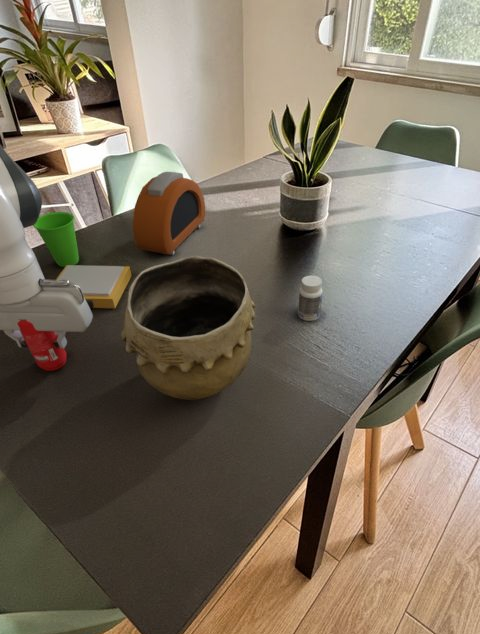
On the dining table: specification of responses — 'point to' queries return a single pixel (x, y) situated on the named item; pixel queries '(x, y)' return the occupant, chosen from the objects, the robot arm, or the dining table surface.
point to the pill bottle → (310, 298)
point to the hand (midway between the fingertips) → (43, 345)
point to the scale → (98, 283)
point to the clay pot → (189, 326)
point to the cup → (59, 236)
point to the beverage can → (42, 346)
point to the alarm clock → (167, 212)
